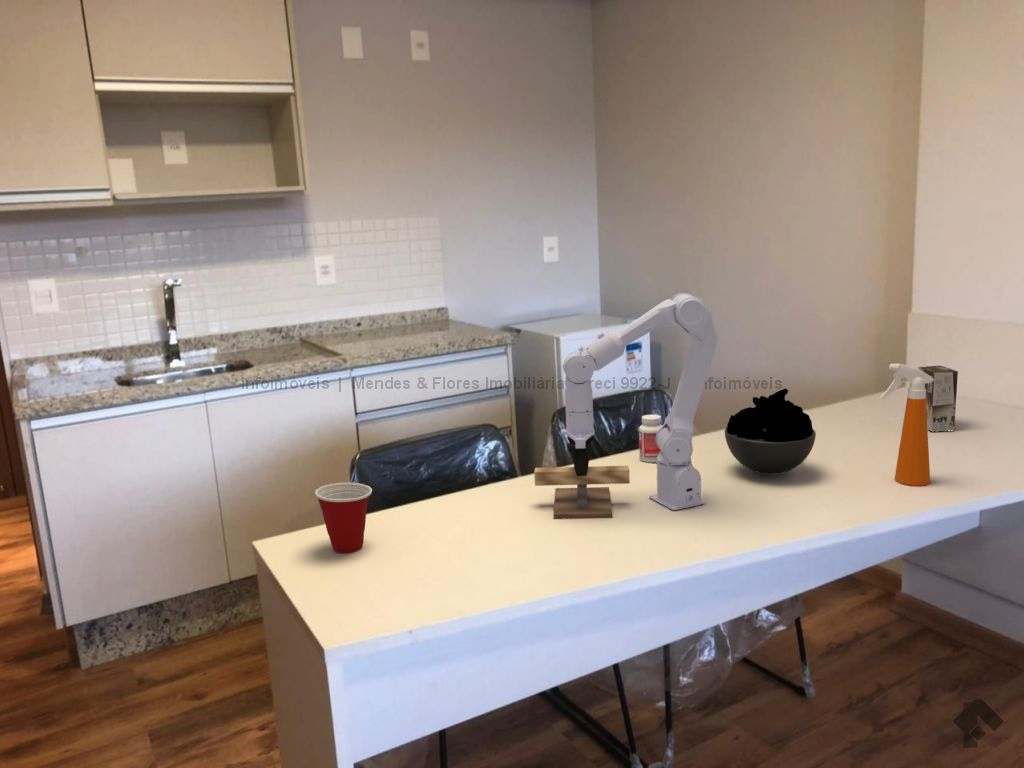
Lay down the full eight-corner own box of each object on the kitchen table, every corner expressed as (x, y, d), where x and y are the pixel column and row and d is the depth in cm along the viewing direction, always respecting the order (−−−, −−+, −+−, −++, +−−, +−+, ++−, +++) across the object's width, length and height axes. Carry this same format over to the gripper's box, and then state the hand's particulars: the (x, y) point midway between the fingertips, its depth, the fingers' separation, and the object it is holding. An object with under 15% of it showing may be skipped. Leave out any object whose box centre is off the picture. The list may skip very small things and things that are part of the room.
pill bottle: (669, 459, 204) (669, 416, 202) (651, 464, 201) (650, 421, 199) (652, 454, 209) (651, 412, 207) (634, 459, 206) (633, 416, 204)
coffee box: (955, 431, 215) (959, 371, 212) (930, 432, 215) (934, 372, 212) (938, 422, 224) (941, 364, 221) (914, 423, 224) (917, 365, 221)
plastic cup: (380, 553, 157) (375, 493, 154) (322, 562, 154) (316, 502, 151) (373, 533, 167) (368, 476, 164) (319, 541, 164) (313, 484, 161)
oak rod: (628, 478, 176) (628, 465, 176) (629, 483, 173) (629, 469, 173) (535, 481, 178) (535, 468, 177) (535, 485, 175) (534, 472, 174)
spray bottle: (873, 475, 185) (878, 360, 180) (925, 476, 183) (931, 360, 178) (880, 485, 178) (885, 366, 173) (934, 486, 176) (941, 366, 171)
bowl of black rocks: (758, 491, 179) (759, 407, 175) (708, 466, 197) (707, 390, 193) (833, 478, 185) (836, 396, 181) (778, 455, 203) (779, 380, 200)
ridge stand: (612, 517, 168) (611, 494, 167) (553, 518, 169) (552, 495, 168) (609, 491, 184) (608, 469, 183) (555, 492, 185) (554, 471, 184)
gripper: (560, 402, 180) (563, 461, 183) (559, 418, 166) (562, 483, 168) (593, 401, 179) (595, 460, 182) (594, 417, 165) (596, 482, 168)
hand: (581, 471), depth 175 cm, fingers open, 5 cm apart
